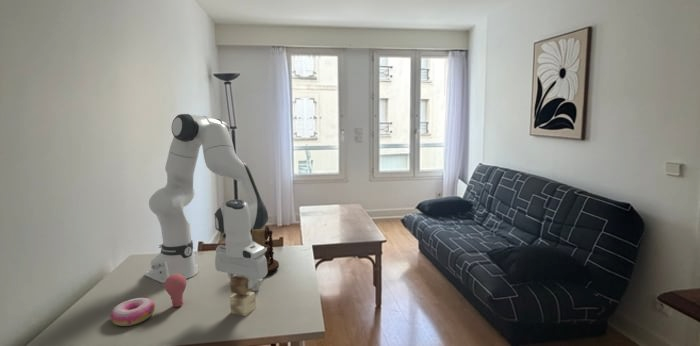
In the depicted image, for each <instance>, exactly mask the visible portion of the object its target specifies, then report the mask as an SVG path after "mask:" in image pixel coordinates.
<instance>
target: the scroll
mask: <svg viewBox="0 0 700 346" xmlns="http://www.w3.org/2000/svg"><path fill="white" fill-rule="evenodd" d="M250 232H251V236H252V241H254V242H256V243H257V244H259V245H261V246H263V247H264V248H265V253H264V254H263V255H264V256H265V257H266V260H267V269H268V273H267V275H268V276H270V275H271V273H272V272H275V271H277V269H278V268H279V267H280V262H279V261H278V260H276V259H275V258H274V254H275V252H274V246H273V245H274V240H273V230H270V227H269V226H268V225H265V226H264V229H256V230H250ZM267 240H268V241H267ZM266 246H267V248H266Z"/></svg>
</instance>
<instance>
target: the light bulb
mask: <svg viewBox="0 0 700 346" xmlns="http://www.w3.org/2000/svg"><path fill="white" fill-rule="evenodd" d="M186 287H187V279H185V277H184V276H182V275H180V274H173V275H171V276H169V277H168V278H167V279H166V281H165V283H164V288H165V291H166V293H168V294H167V295H169V296H170V300H171V304H172V306H173V307H175V308H177V307H180V306H182V305H183V304H184V298H183V297H184V292H185V290H186Z"/></svg>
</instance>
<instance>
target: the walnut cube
mask: <svg viewBox="0 0 700 346" xmlns="http://www.w3.org/2000/svg"><path fill="white" fill-rule="evenodd" d="M248 281H249V280H248V278H247V277H245V276H240V275H235V276H234V277H233V278H231V280H230V290H231V293H232V294H235V293H236V294H240V295H244V294H245V293H247V292H249V291H250V290H252V289H253V288H250V289H249V288H246V283H248Z"/></svg>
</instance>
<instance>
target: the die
mask: <svg viewBox="0 0 700 346" xmlns="http://www.w3.org/2000/svg"><path fill="white" fill-rule="evenodd" d="M262 282H263V278H262V279H255V278H254V280H253V282H252V288H253V289H252V290H250V291H251V292H258V290H259V288H260V286H261V284H262Z"/></svg>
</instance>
